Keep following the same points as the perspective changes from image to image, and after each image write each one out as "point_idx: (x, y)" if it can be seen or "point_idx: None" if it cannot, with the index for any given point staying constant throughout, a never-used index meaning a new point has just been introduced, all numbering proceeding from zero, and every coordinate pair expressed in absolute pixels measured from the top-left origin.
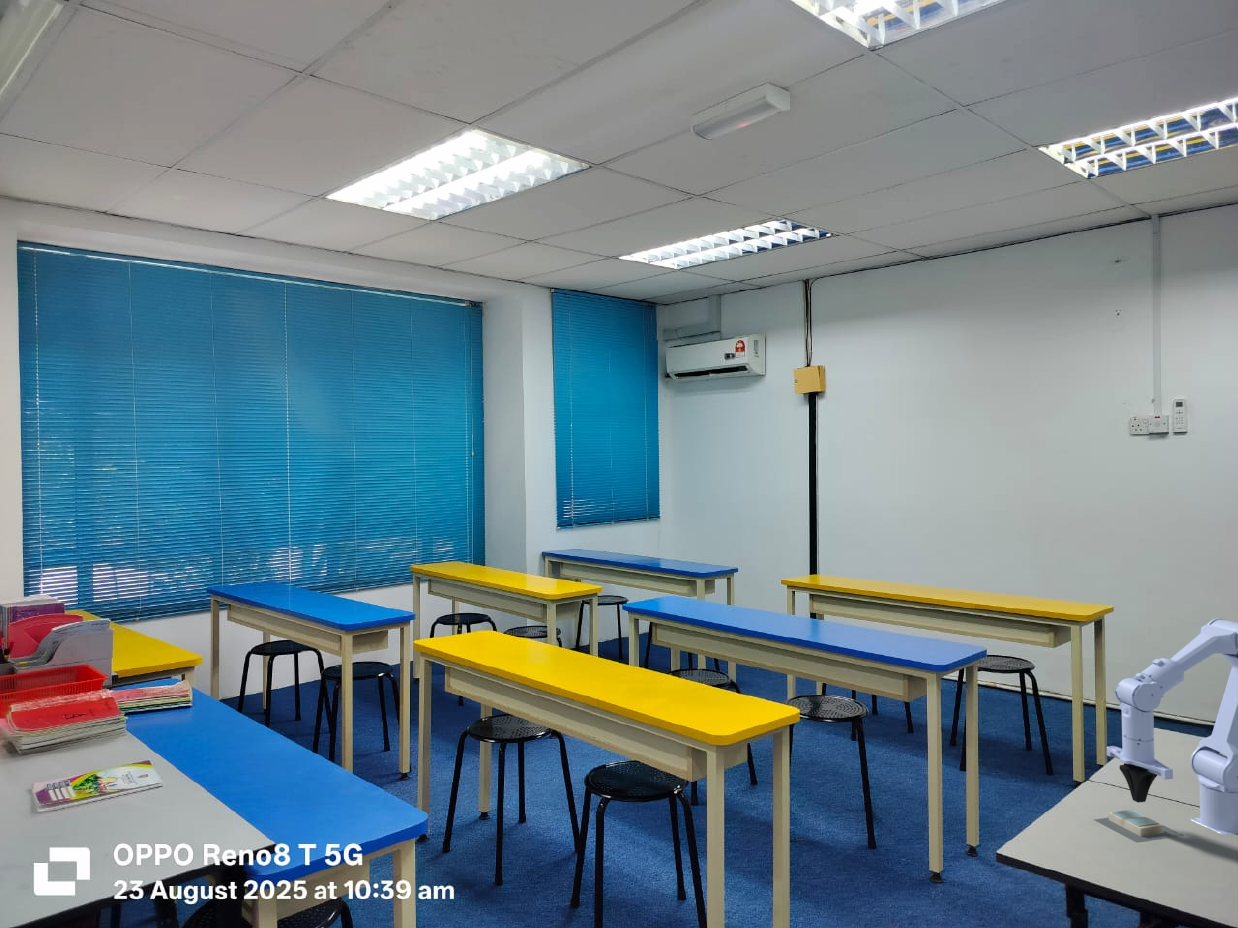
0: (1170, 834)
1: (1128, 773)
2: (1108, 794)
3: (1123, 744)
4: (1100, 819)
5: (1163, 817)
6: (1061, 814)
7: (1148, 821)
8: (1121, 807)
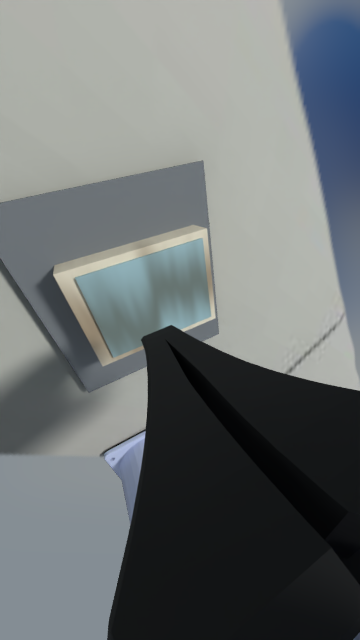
0: (88, 363)
1: (292, 463)
2: (306, 313)
3: None
4: (200, 193)
5: None
6: (274, 60)
7: (125, 331)
8: (257, 312)
